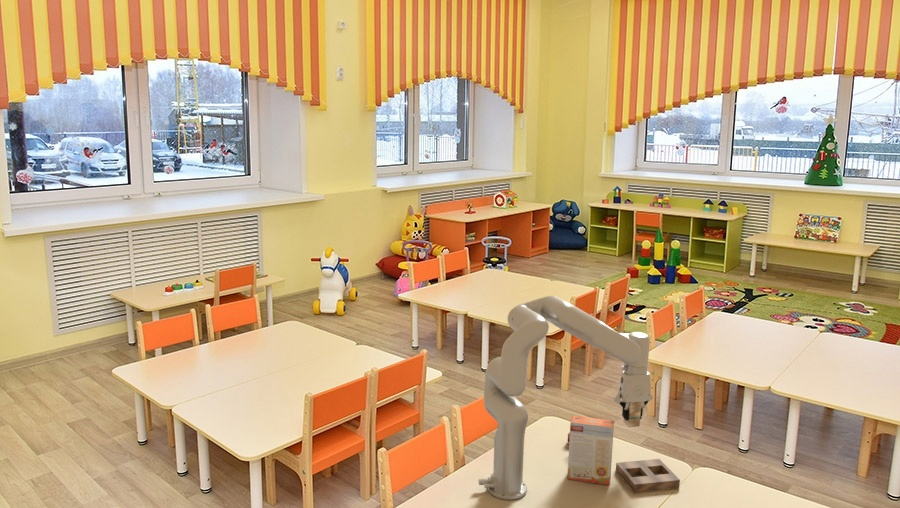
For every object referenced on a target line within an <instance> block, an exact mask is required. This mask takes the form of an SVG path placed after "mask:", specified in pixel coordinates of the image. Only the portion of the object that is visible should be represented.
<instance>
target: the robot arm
mask: <svg viewBox="0 0 900 508" xmlns="http://www.w3.org/2000/svg"><path fill="white" fill-rule="evenodd" d="M549 323H551V324H552V325H554V326H555V327H556V328H559V329H560V330H562V331H564V332H566V333H567V334H569V335H571V336H573V337H575V338H577V339H578V340H581V341H583V342H584V343H586V344H587V345H589V346H592V347H593V348H597V349H599V350H601V351H603V352H605V353H606V354H608V355H610V356H611V357H614V358H615V359H617V360H619V361H621V362H623V363H624V365H621V367H620V368H621V369H620V370H622V372H621V375H620V378H619V385H618V391H617V395H615V397H614V399H613V401H614V402H615V403H616V404H618V405H619V406H621V407H622V410H621V411H622V413H621V416H622V418H623V420H624V419H625V420H626V421H628V420H629V409H628V407H629V403H633V402H641V414H640V420H642V417H643V414H644V413H643V412H644V409H645V408H646V405H647V404H648V403H649V402H651V401H652V400H653V399H654V396H653V395H652V394H651V393H652V392H651V391H652V387H651V385H652V384H651V375H650V372H649V371H648V368H649V367H648V366H649V356H650V355H649V354H650V342H651V338H650V336H649V334H647V333H644V332H643V331H642V332H641V331H632V332H629V333H628V332H625V333H623V332H618V331H616V330H615V329H613V328H612V327H610V326H609V325H607V324H606V323H604V322H603V321H601V320H600V319H598V318H597V317H594V316H593V315H591V314H589V313H587V312H585V310H583V309H580V308H579V307H577V306H575V305H574V304H572V303H570V302H568V301H566V300H564V299H562V298H560V297H559V296H556V295H549V296H548V295H547V296H543V297H540V298H536V299H533V300H530V301H527V302H524V303H521V304H518V305H515V306H514V307H513V308H512V309H511V310H510V311H509V312H508V314H507V324H508V325H509V327H510V328H511V329H512V330H513V332H512V333H511V334H510V335H509V336H508V338H506V339H505V341H504V343H503V345H502V348H501V354H500V356H497V357H494V358H493V359H491V361H490V362H489V363H488V365H487V366H486V370H485V374H484V375H485V376H484V389H483V405H484V409H485V410H486V412H487V413H488V414H489V415H490V416H491V417H492V418H493V419H494V421H496V422H497V429H496V431H495V434H494V440H493V468H492V469H493V472H492V473H490V477H489V476H488V477H487V478H478V480H477V481H478V486H483V487H484V489H488V492H489V493H490V495H492V496H493V497H495V498H498V499H501V500H506V501H509V500H510V501H511V500H512V501H513V500H518V499H521V498H523V497H525V495H526V494H527V491H528V485H527V484H526V482H524V481H523V478H524V477H523V475H524V473H523V472H524V455H525V453H524V451H525V436H526V435H525V434H526V429H527V428H526V427H527V424H528V420H529V414H528V410H527V408H526V406H525V405H524V404H523V403H522V402H521V401H520V400H519V399H518V398H517V397H519V396H521V395H522V394H523V393H524V391H525V390H526V386H527V380H528V379H527V378H528V363H529V356H530V353H531V351H532V349H533V348H534V347H535V346H536V345H537V344H538V343H539V342H541V341H542V340H543V339H545V337H546V336H547V334H548V332H549V327H550V326H549Z"/></svg>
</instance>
